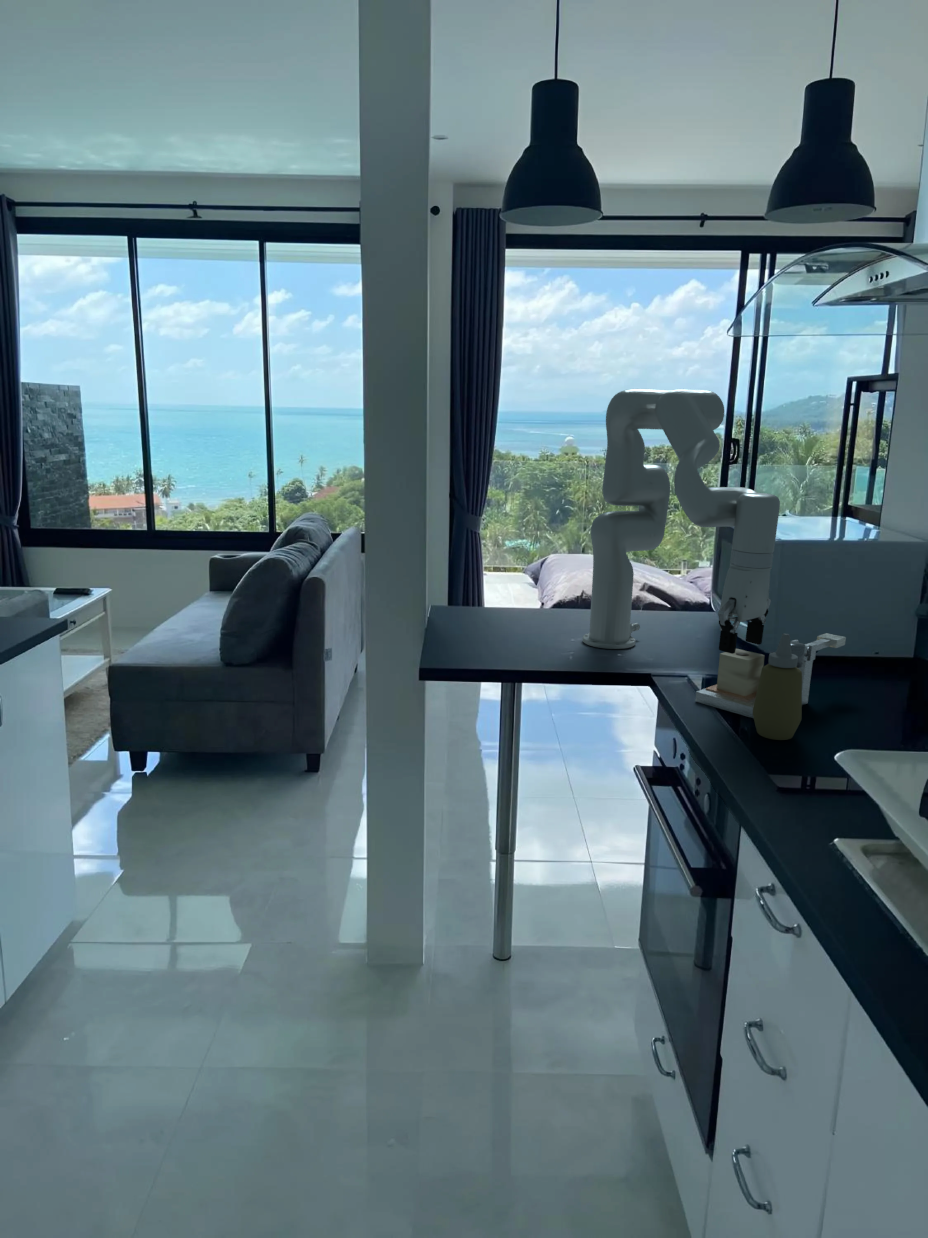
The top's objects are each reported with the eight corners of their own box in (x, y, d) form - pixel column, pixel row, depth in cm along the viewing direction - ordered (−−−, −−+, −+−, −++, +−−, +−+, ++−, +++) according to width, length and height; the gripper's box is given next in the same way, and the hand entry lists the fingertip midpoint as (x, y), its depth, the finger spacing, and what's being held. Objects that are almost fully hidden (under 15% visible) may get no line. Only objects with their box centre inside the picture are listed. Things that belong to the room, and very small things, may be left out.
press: (739, 685, 178) (745, 628, 175) (810, 703, 167) (817, 643, 165) (695, 701, 167) (700, 641, 164) (768, 722, 156) (775, 658, 154)
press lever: (823, 646, 177) (826, 627, 176) (845, 650, 174) (847, 631, 173) (773, 664, 163) (775, 643, 162) (795, 669, 160) (798, 648, 159)
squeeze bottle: (768, 745, 145) (780, 641, 141) (740, 728, 153) (751, 629, 149) (809, 741, 148) (822, 639, 143) (780, 725, 155) (791, 627, 151)
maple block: (732, 682, 172) (736, 648, 170) (760, 690, 168) (764, 654, 166) (716, 688, 168) (719, 653, 166) (744, 696, 164) (748, 660, 162)
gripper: (756, 551, 170) (745, 635, 175) (708, 561, 159) (698, 650, 163) (792, 558, 165) (780, 644, 170) (745, 568, 154) (734, 660, 158)
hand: (740, 647), depth 166 cm, fingers open, 9 cm apart
